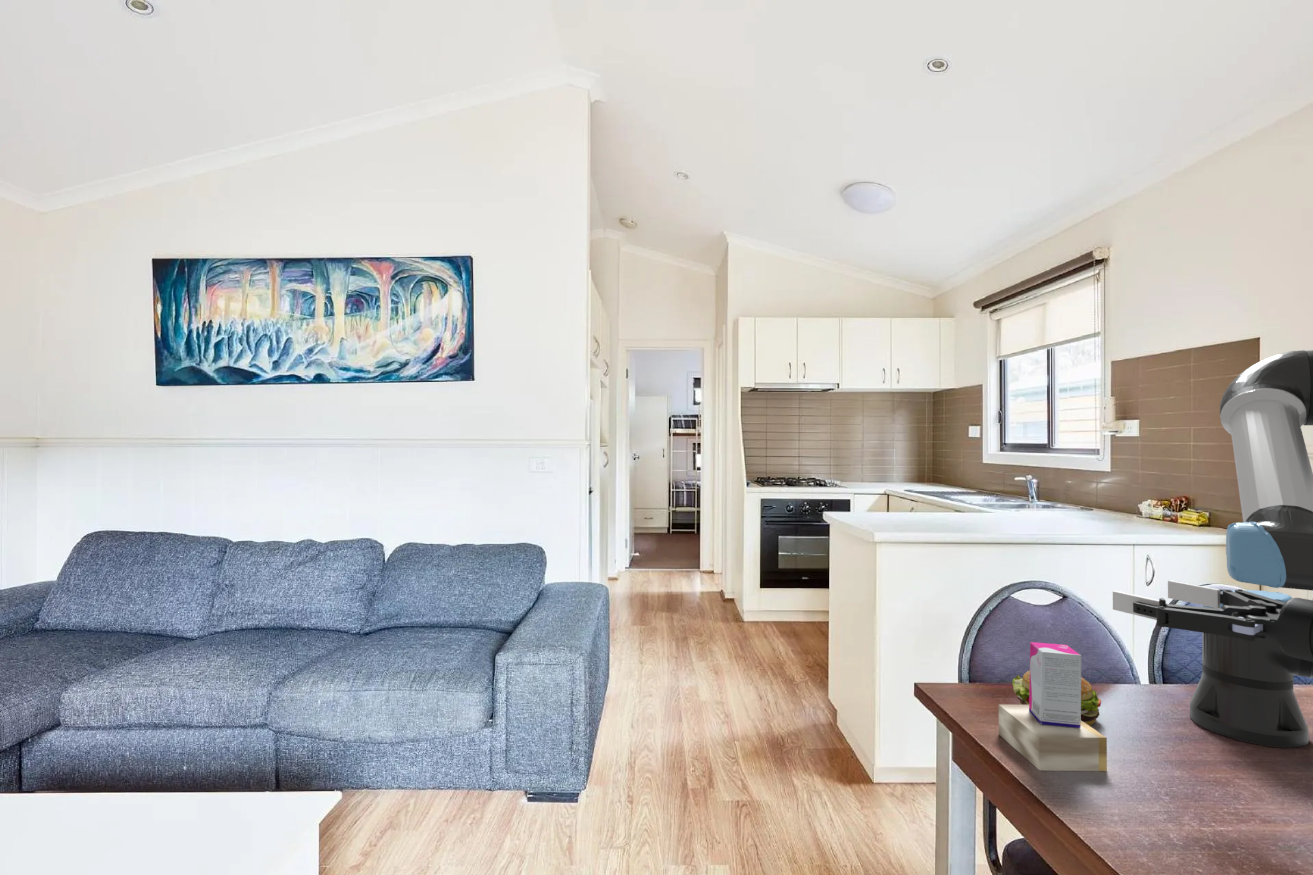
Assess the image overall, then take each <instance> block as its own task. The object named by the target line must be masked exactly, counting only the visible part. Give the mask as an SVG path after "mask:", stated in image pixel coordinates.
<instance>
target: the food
mask: <svg viewBox="0 0 1313 875" xmlns="http://www.w3.org/2000/svg"><path fill="white" fill-rule="evenodd" d="M1011 682H1012V683H1011V684H1012V686H1013V692H1014V694H1016V697H1017V698H1016V699H1018V700H1019V705H1029V689H1030V669H1029V670H1027V671H1026V672H1025V673H1024V674H1023V676H1022V677H1020V675H1019V674H1017V675H1016V676H1015V677H1014V678H1013V679H1012V681H1011ZM1101 704H1102V700H1101V699H1100V698H1099V697H1098V693H1097V692H1096V691H1095V690H1094V689H1093V686H1092V685H1091V684H1090V683H1089V681H1087V680H1086V679H1085V678H1084V677H1082V676H1081V721H1083V722H1084V723H1086V724H1087V725H1089V726H1090V727H1092V725H1093V724H1095V723H1096V720H1097V719H1098V718H1099V716H1100V711H1099V710H1100V709H1099V708H1100V707H1101Z"/></svg>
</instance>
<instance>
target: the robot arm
mask: <svg viewBox="0 0 1313 875" xmlns="http://www.w3.org/2000/svg"><path fill="white" fill-rule="evenodd" d="M1219 418H1220V424H1221V425H1222V427H1223V429H1224V430H1225V431H1226V432H1227V433H1228V434H1229V435H1231V443H1232V449H1233V456H1234V463H1235V472H1236V478H1237V485H1238V493H1239V501H1240V508H1241V515H1242V522H1233V523H1231V524H1228V526H1227V528H1226V533H1225V534H1226V536H1225V556H1226V568H1227V573H1228V575H1229V577H1230V578H1232V579H1233V580H1234V581H1237V582H1239V583H1245V584H1251V585H1258V586H1259V585H1260V586H1264V587H1265V586H1266V587H1269V588H1272V589H1273V588H1275V589H1278V588H1281V589H1290V590H1303V591H1313V469H1312V465H1311V461H1310V457H1309V453H1308V450H1307V445H1306V443H1305V442H1306V441H1305V438H1304V436H1303V431H1302V426H1313V350H1304V349H1303V350H1291V351H1285V352H1282V353H1277V354H1275V355H1272V356H1268V357H1266V358H1263V359H1262V360H1260V361H1258V362H1256V363H1254V364H1252V365H1250V366H1249V367H1247V368H1246V369H1245V370H1243V371H1242V372H1241V373H1239V375H1237V376H1236V377H1235V378H1234V379H1233V380H1232V381H1231V382H1230V384H1229V385H1227V388H1226V389H1225V391H1224V392H1223V394H1222V397H1221V400H1220V403H1219ZM1167 599H1171V600H1176V601H1181V602H1184V603H1185V602H1186V603H1190V604H1196V605H1201V606H1192V605H1183V604H1171V603H1166V602H1167V601H1166V599H1165V598H1163V597H1161V598H1159V599H1156V598H1151V597H1147V596H1142V595H1138V594H1134V593H1133V594H1132V593H1127V592H1123V591H1120V590H1113V591H1112V610H1114V611H1118V612H1122V613H1126V614H1131V615H1133V616H1134V615H1135V616H1138V617H1142V618H1146V619H1150V620H1153V621H1154V620H1155V621H1156V626H1158V627H1160V628H1168V629H1169V628H1170V629H1174V630H1182V631H1190V632H1197V633H1202V642H1201V643H1202V650H1201V651H1202V652H1201V653H1202V655H1201V656H1202V657H1201V658H1202V659H1201V664H1202V670H1201V671H1202V672H1201V677H1200V679H1199V681H1198V684H1197V686H1196V689H1194V690H1195V691H1194V693H1193V694H1192V697H1191V700H1190V701H1189V718H1190V719H1191V720H1192V721H1193V722H1194V723H1196V725H1198V726H1200V727H1202V728H1204V729H1206V730H1208V731H1211V732H1213V733H1216V734H1219V735H1221V736H1225V737H1227V738H1230V739H1234V740H1237V741H1242V742H1245V743H1250V744H1255V745H1258V746H1259V745H1261V746H1264V747H1265V746H1266V747H1272V748H1285V749H1286V748H1291V749H1293V748H1301V747H1305V746H1307V745H1308V744H1309V738H1310V736H1309V734H1310V733H1309V732H1310V731H1309V725H1308V723H1307V722H1306V719H1305V717H1304V714H1303V712H1302V709H1301V707H1300V704H1299V703H1298V699H1297V697H1296V695H1295V692H1294V676H1298V677H1304V678H1308V679H1309V678H1310V679H1313V599H1308V598H1307V599H1306V598H1301V597H1292V596H1291V595H1289V594H1287V593H1283V592H1279V591H1276V592H1275V591H1268V590H1253V589H1252V590H1251V589H1242V588H1241V589H1240V588H1238V589H1234V590H1231V589H1222V591H1221V589H1219V588H1214V587H1210V586H1209V587H1208V586H1203V585H1198V584H1194V583H1193V584H1192V583H1187V582H1181V581H1177V580H1172V579H1169V580H1167Z"/></svg>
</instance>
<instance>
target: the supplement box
mask: <svg viewBox="0 0 1313 875" xmlns="http://www.w3.org/2000/svg"><path fill="white" fill-rule="evenodd" d="M1029 647H1030V648H1029V670H1030V689H1029V711H1030V712H1031V714H1032V715H1033V716H1034V717H1035V718H1036V719H1037V721H1038V722H1039V723H1040V724H1041V725H1046V726H1059V727H1069V728H1080V727H1081V677H1082V655H1081V654H1080V653H1079V652H1077V650H1075V649H1073V648H1071V646H1069V645H1068V644H1059V643H1049V642H1047V643H1046V642H1034V641H1031V642H1030V644H1029Z"/></svg>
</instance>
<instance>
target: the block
mask: <svg viewBox="0 0 1313 875" xmlns="http://www.w3.org/2000/svg"><path fill="white" fill-rule="evenodd" d="M998 735H999V736H1000V737H1001V738H1002V739H1003V740H1005V741H1006V743H1008V744H1009V745H1010V746H1011V747H1012V748H1013V749H1015V750H1016V751H1017V752H1018V753H1019V754H1020V755H1021V756H1022V757H1024V758H1025V759H1026V760H1027V761H1028V762H1029V763H1030V764H1031V765H1033V766H1034V768H1036V769H1037V770H1038V771H1054V772H1055V771H1057V772H1058V771H1060V772H1062V771H1065V772H1067V771H1068V772H1069V771H1070V772H1071V771H1074V772H1107V771H1108V764H1107V763H1108V756H1107V755H1108V746H1107V745H1108V739H1107V737H1106V736H1105V735H1104V734H1102V733H1100V732H1099V731H1098V730H1096V729H1095V728H1093V727H1092V726H1089V725H1087V724H1086V723H1084V722H1083V721H1081V727H1080V728H1069V727H1059V726H1046V725H1041V724H1040V723H1039V722H1038V721H1037V719H1036V718H1035V717H1034V716H1033V715H1032V714H1031V712H1030V711H1029V705H1020V704H998Z"/></svg>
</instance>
